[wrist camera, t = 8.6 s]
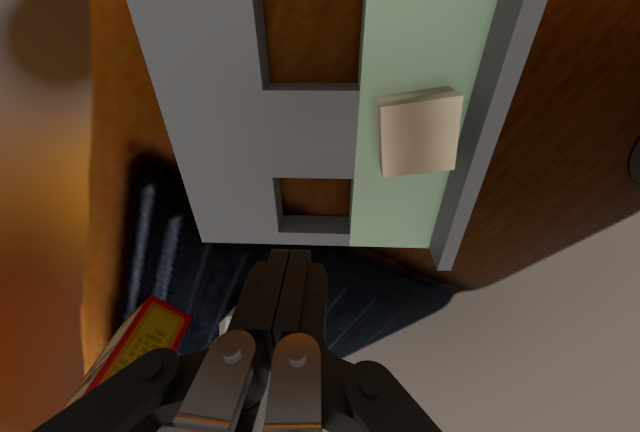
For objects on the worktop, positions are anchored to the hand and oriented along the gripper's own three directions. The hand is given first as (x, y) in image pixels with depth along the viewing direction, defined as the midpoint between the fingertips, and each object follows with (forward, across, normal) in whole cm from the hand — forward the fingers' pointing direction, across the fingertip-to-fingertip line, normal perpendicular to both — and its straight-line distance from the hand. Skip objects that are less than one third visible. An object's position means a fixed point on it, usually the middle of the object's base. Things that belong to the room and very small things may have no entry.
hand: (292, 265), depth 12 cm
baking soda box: (+17, +25, +28) cm, 41 cm away
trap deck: (+17, 0, 0) cm, 17 cm away
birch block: (+14, -7, -2) cm, 16 cm away
